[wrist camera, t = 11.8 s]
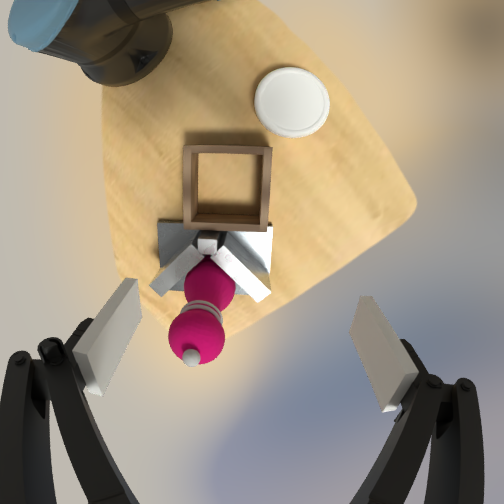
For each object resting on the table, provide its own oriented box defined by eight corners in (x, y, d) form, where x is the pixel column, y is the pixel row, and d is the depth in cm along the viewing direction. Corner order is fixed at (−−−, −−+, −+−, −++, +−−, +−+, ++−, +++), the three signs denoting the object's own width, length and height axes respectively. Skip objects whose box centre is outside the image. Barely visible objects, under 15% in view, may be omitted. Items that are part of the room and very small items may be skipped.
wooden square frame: (191, 145, 38) (183, 145, 33) (270, 147, 38) (272, 147, 33) (191, 219, 42) (183, 229, 37) (265, 222, 42) (267, 232, 37)
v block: (164, 286, 46) (151, 309, 39) (159, 220, 42) (143, 235, 35) (267, 291, 46) (269, 316, 39) (272, 224, 42) (276, 240, 35)
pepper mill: (187, 288, 45) (152, 379, 26) (193, 246, 42) (154, 326, 23) (231, 297, 45) (221, 394, 27) (241, 256, 43) (234, 343, 24)
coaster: (318, 144, 38) (324, 144, 35) (248, 131, 37) (248, 129, 34) (329, 81, 34) (336, 76, 31) (260, 66, 34) (261, 59, 30)
